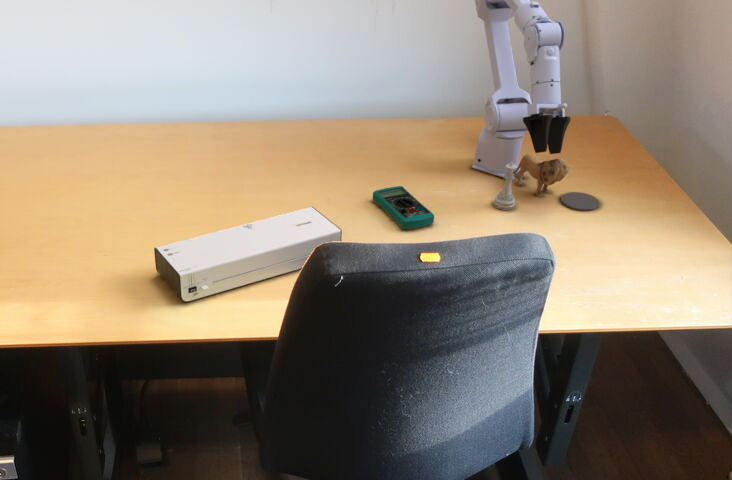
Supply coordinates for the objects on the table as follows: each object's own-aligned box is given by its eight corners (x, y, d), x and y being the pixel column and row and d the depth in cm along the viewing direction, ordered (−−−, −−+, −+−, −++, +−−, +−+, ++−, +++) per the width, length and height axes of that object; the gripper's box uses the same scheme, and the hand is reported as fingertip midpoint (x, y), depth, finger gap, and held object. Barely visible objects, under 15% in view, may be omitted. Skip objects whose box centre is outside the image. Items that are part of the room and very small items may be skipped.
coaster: (554, 203, 185) (554, 201, 185) (570, 190, 190) (570, 188, 190) (590, 214, 181) (590, 212, 181) (604, 201, 186) (605, 199, 186)
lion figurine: (566, 197, 188) (576, 159, 182) (550, 204, 185) (559, 165, 180) (515, 173, 197) (523, 136, 192) (499, 179, 195) (506, 142, 189)
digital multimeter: (403, 232, 175) (405, 219, 173) (371, 201, 186) (372, 188, 184) (435, 226, 177) (437, 213, 175) (401, 195, 188) (402, 183, 186)
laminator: (310, 233, 174) (311, 205, 171) (343, 260, 166) (345, 232, 162) (156, 275, 161) (153, 246, 158) (183, 307, 153) (181, 278, 149)
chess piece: (496, 210, 183) (504, 167, 176) (490, 201, 186) (498, 158, 180) (516, 210, 183) (525, 166, 177) (510, 200, 186) (519, 157, 180)
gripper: (551, 77, 166) (553, 149, 167) (578, 84, 176) (580, 151, 178) (516, 84, 170) (519, 153, 172) (545, 90, 181) (547, 155, 183)
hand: (548, 152), depth 175 cm, fingers open, 7 cm apart
